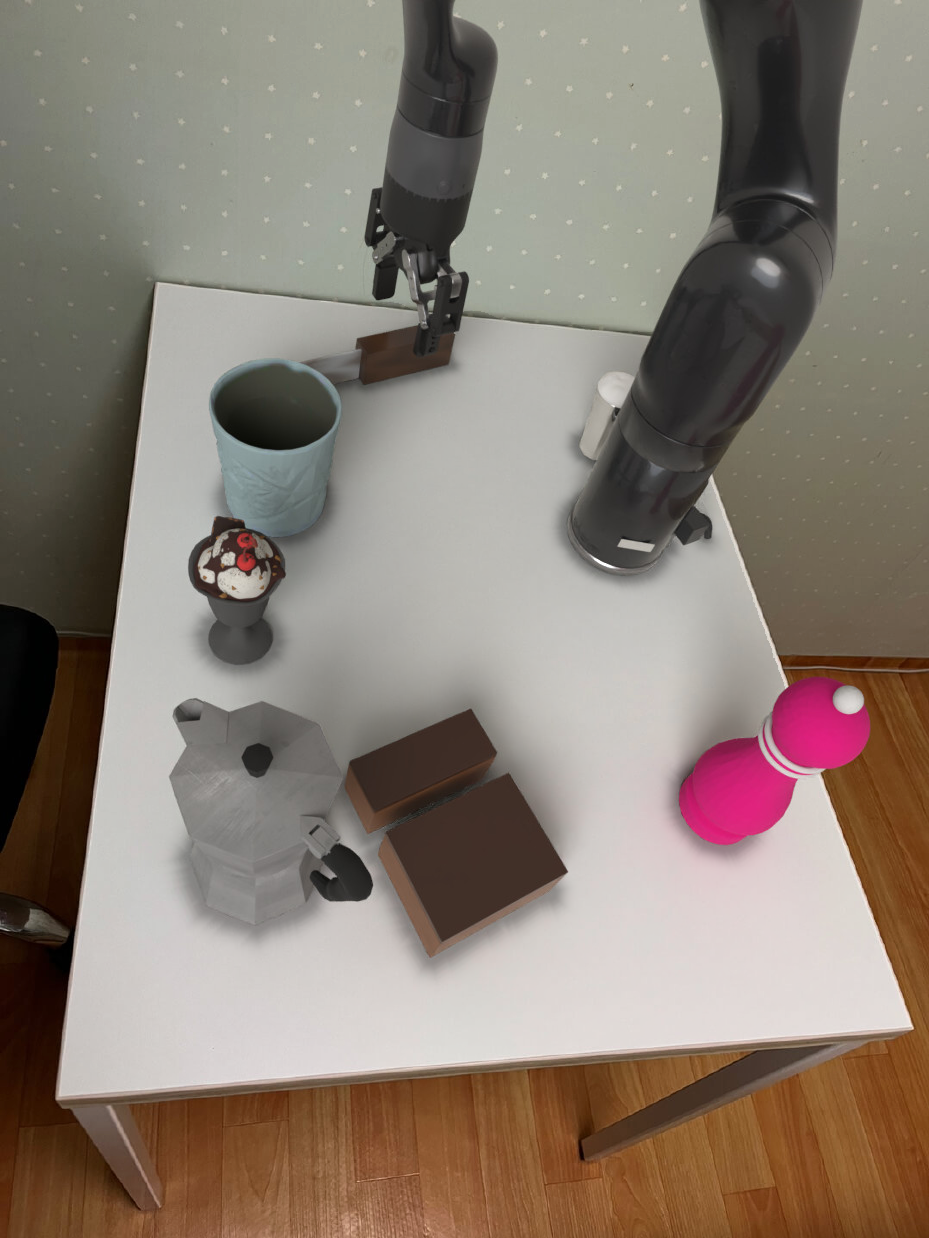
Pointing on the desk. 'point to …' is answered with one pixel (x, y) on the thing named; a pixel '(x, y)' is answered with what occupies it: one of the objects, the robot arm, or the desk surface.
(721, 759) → the pepper mill
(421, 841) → the cake
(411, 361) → the knife
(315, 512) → the blue ceramic cup
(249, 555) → the sundae
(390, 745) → the cake slice
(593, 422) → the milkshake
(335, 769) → the coffeepot
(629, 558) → the robot arm
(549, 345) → the desk surface
